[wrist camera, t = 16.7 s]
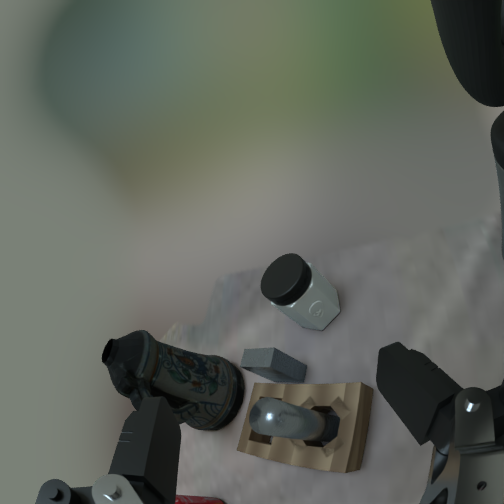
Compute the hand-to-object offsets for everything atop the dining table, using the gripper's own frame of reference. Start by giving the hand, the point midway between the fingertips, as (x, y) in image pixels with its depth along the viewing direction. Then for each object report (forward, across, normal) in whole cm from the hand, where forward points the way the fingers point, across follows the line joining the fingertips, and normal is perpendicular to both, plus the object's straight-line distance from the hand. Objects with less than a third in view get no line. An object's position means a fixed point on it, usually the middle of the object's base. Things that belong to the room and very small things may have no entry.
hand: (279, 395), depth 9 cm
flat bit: (+29, +5, -24) cm, 38 cm away
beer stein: (+35, -9, -32) cm, 48 cm away
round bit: (+16, +8, -26) cm, 31 cm away
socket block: (+19, +5, -27) cm, 33 cm away
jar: (+35, +13, -16) cm, 40 cm away
